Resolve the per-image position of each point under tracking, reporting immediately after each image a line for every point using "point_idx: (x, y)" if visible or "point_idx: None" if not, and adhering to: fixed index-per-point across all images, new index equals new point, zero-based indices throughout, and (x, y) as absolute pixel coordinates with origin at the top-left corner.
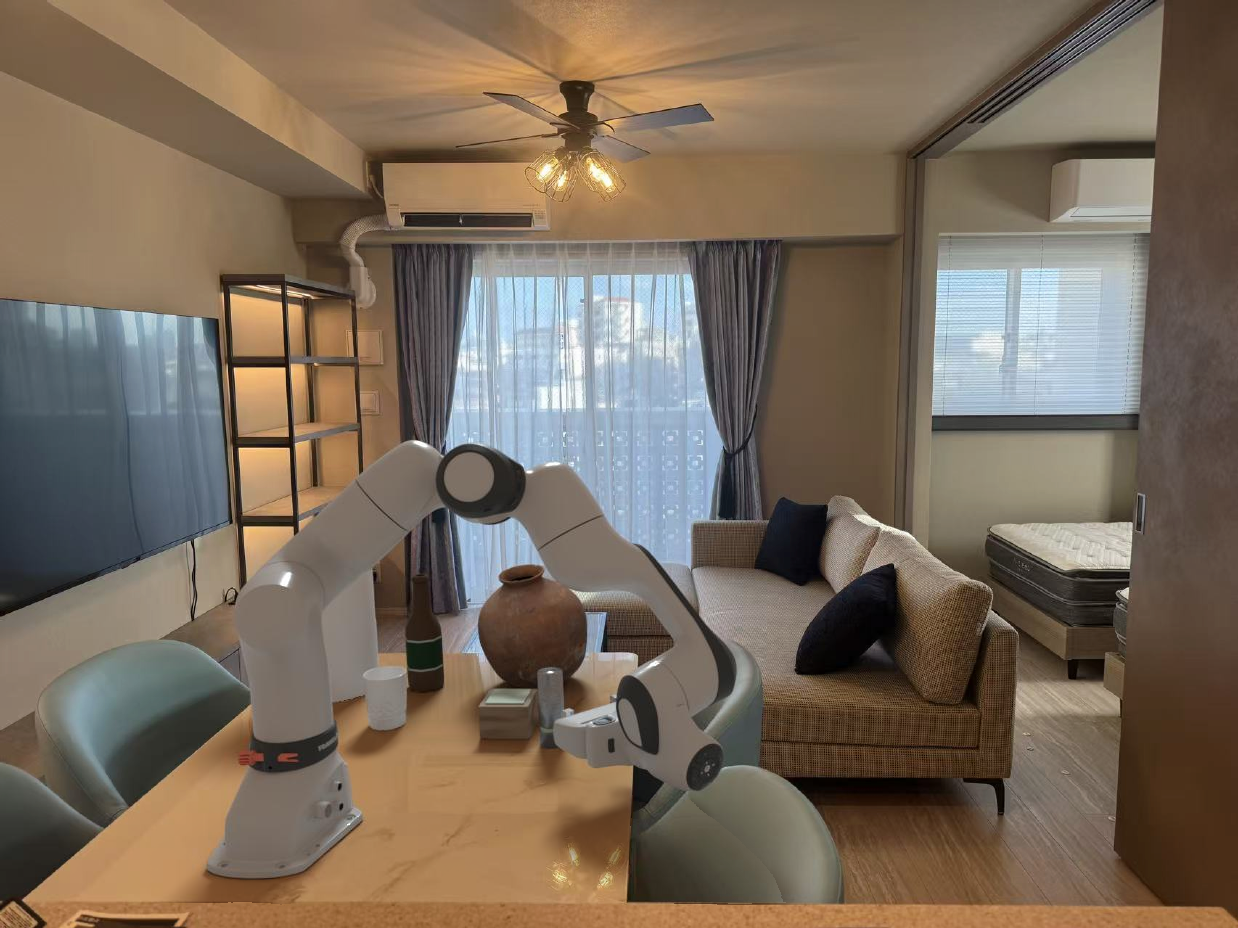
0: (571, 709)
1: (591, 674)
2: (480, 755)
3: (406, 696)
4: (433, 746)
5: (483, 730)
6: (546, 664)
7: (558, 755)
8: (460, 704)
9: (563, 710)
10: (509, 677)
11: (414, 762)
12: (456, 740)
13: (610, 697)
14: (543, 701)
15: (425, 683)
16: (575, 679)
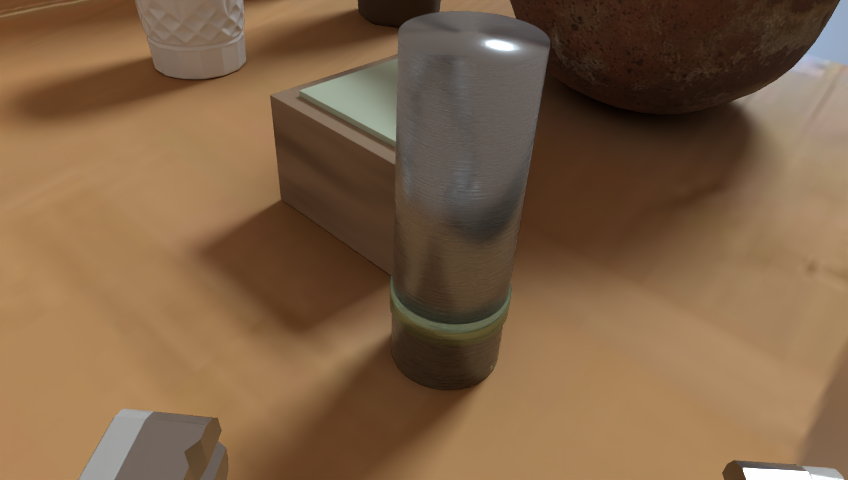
0: (182, 464)
1: (803, 117)
2: (182, 269)
3: (228, 5)
4: (154, 166)
5: (286, 179)
6: (638, 35)
7: (385, 448)
8: None
9: (114, 429)
10: None
11: (26, 198)
12: (227, 174)
13: (733, 473)
14: (398, 183)
15: (379, 4)
16: (744, 115)
